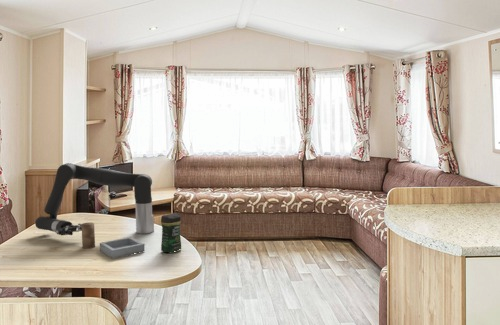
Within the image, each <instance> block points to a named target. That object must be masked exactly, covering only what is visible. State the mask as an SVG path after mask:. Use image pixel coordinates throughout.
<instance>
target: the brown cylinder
mask: <svg viewBox="0 0 500 325" xmlns="http://www.w3.org/2000/svg"><path fill="white" fill-rule="evenodd" d="M81 224H82V231H81V242H82V245H81V246H82V249H85V250H90V249H94V248H95V247H96V239H95V238H96V236H95V232H96V231H95V223H94V222H84V223H81Z"/></svg>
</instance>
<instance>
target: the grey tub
mask: <svg viewBox="0 0 500 325" xmlns="http://www.w3.org/2000/svg"><path fill="white" fill-rule="evenodd" d="M145 250H146V249H145V243H143V242H141V241H139V240H138V239H135V238H133V237H131V236H129V237H124V238H119V239H113V240H108V241H104V242H99V251H100V252H101V253H102V254H104V255H106V256H107V257H109V258H111V259H113V260H114V259H118V257H119V258H123V257H127V255H128V256H132V255H131V254H133V255H135V254H134V253H137V254H140V253H139V252H142V253H144V252H143V251H145ZM122 256H123V257H122Z"/></svg>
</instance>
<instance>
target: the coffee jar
mask: <svg viewBox="0 0 500 325" xmlns="http://www.w3.org/2000/svg"><path fill="white" fill-rule="evenodd" d="M160 219H161V220H160V224H161V230H162V232H161V244H160V245H161V247H160V251H161V252H162V251H163V253H164V252H173V253H175V252H174V251H177V250H179V249H181V250H182V241H181V223H182V217H181V214H180V213H177V212H172V213H169V214H163V215H162V216H161V218H160ZM177 252H178V251H177Z"/></svg>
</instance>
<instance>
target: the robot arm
mask: <svg viewBox="0 0 500 325" xmlns="http://www.w3.org/2000/svg"><path fill="white" fill-rule="evenodd" d="M54 179H55V180H54V183H53V186H52V190H51V191H50V195H49V197H48V199H47V201H46V204H45V205H44V206H45V207H44V209H43V211H44V213H45V214H48V215H49V216H39V217H37V218H36V219H35V222H34V225H35V226H36V228H37V229H38V230H43V231H50V232H53V233H55V234H57V235H58V236H59V235H60V236H74V234H73V233H79V232H82V224H83V223H78V224H73V223H72V222H71V221H69V220H64V219H59V218H58V211H59V210H60V207H61V205H62V202H63V197H64V193H65V190H66V188H67V186H68V184H69V182H70V181H71V180H83V181H88V182H91V183H94V184H96V185H102V186H108V187H115V186H116V187H121V186H123V187H125V186H126V187H131V188H132V187H133V190H134V191H133V192H134V199H135V233H136V234H150V233H153V232H155V215H154V214H153V198H152V185H153V179H152V177H151V176H150V175H148V174H145V173H140V174H139V173H129V172H123V171H118V170H113V169H108V168H101V167H100V168H99V167H86V166H82V165H79V164H73V163H70V162H68V163H64V164H61V165H59V167H57V170H56V174H55V178H54Z"/></svg>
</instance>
